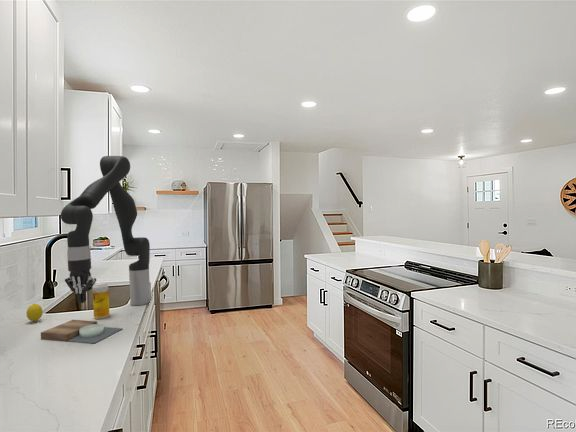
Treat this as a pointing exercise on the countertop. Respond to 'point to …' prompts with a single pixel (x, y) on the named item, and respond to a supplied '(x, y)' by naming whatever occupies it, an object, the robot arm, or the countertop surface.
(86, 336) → the pale green rounded disc
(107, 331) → the mat
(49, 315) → the countertop surface
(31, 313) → the lemon
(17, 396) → the countertop surface
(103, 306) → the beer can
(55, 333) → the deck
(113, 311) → the countertop surface
